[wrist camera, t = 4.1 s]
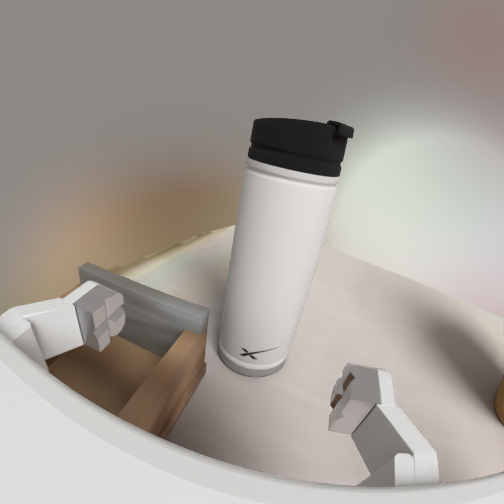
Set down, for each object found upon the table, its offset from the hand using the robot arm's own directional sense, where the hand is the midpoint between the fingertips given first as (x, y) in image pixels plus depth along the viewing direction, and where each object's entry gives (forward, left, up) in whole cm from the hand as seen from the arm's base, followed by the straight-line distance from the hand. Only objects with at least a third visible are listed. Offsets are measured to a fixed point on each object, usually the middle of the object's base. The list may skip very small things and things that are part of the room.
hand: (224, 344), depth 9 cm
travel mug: (+12, 0, -12) cm, 17 cm away
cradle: (+2, +9, -12) cm, 15 cm away
